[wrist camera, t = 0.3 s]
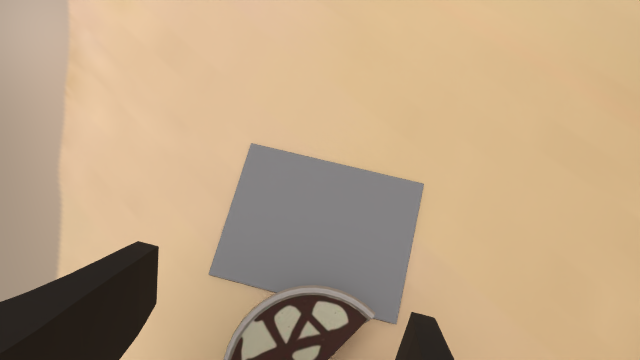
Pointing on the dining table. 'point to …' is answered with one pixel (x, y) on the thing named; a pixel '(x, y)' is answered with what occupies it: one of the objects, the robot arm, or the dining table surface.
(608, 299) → the dining table surface
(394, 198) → the plain gray flat panel
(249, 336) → the food container
